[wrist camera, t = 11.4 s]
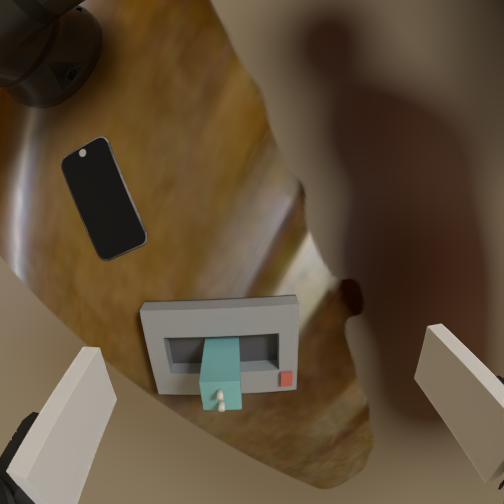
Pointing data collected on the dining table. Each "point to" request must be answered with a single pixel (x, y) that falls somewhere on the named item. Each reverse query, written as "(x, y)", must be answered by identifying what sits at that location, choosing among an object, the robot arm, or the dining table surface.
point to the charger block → (221, 374)
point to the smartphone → (103, 199)
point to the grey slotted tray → (223, 324)
